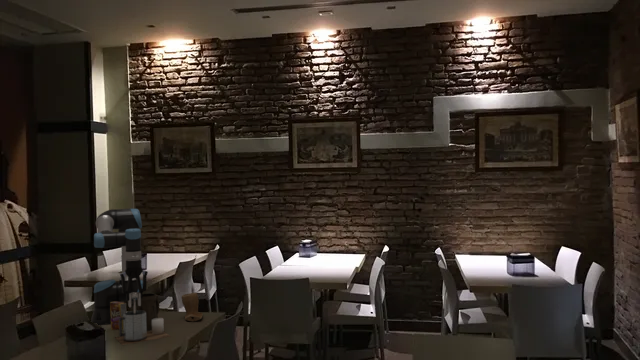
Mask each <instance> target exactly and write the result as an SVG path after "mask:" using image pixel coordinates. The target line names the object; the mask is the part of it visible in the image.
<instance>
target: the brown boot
mask: <svg viewBox="0 0 640 360" xmlns="http://www.w3.org/2000/svg"><path fill="white" fill-rule="evenodd" d="M199 301H200V300H199V295H198V293H197V292H191V293H186V294H183V295H181V303H182V305H183V307H184V310H185V316H184V320H185V321H189V322H197V321H200V320H201V319H202V318H203V312H199Z"/></svg>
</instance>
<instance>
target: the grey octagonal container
mask: <svg viewBox="0 0 640 360" xmlns="http://www.w3.org/2000/svg"><path fill="white" fill-rule="evenodd" d="M122 320H123V327H124V329H122ZM118 330H119V335H118V337H119V336H124V341H126V342H137V341H142V340H145V339H146V338H147V332H148V331H147V327H146V312H145V311H141V310H137V309H136V315H134V310H130V311H127V312H126V313H123V317H122V318H119V329H118ZM137 343H138V342H137Z"/></svg>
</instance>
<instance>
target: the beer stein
mask: <svg viewBox="0 0 640 360" xmlns="http://www.w3.org/2000/svg"><path fill="white" fill-rule="evenodd" d="M142 294H143V298H142V299H141V306H138V298H137V300H136V310H141V311H145V312H146V327H147V332H150V331H152V319H155V318H159V317H158V316H159V311H160V301H159V294H156V293H142Z"/></svg>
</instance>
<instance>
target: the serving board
mask: <svg viewBox="0 0 640 360" xmlns="http://www.w3.org/2000/svg"><path fill="white" fill-rule="evenodd" d="M171 337H172V336H171V335H170V334H168V333H167V332H165V331H164V333H162V334H152V330H150V331H147V338H146V339H145V340H142V341H137V342H126V341H124V336H119V335H118V336H115V337H114V338H115V340H116V341H118V343H120V345H122V346H124V345H130V344H136V343H141V342H142V343H143V342H147V341H154V340H159V339H165V338H171Z"/></svg>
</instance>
